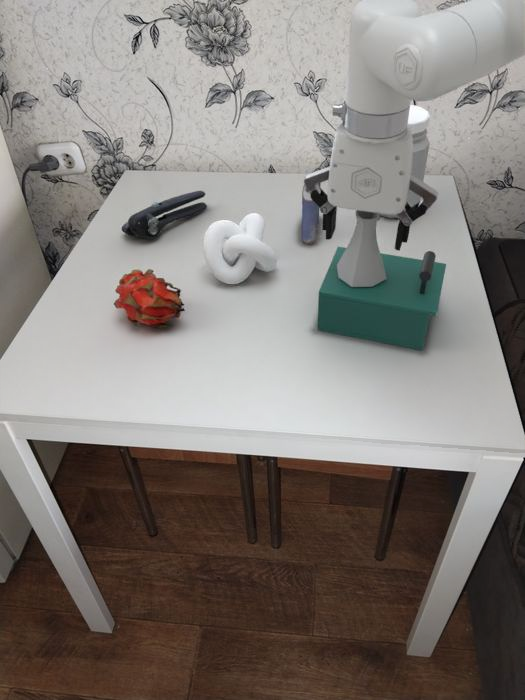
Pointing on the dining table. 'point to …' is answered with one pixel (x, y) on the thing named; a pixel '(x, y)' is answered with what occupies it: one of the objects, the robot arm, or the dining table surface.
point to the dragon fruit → (148, 299)
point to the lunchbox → (372, 322)
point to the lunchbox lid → (393, 284)
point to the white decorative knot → (237, 249)
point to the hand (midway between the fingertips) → (364, 239)
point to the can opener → (150, 226)
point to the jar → (417, 148)
